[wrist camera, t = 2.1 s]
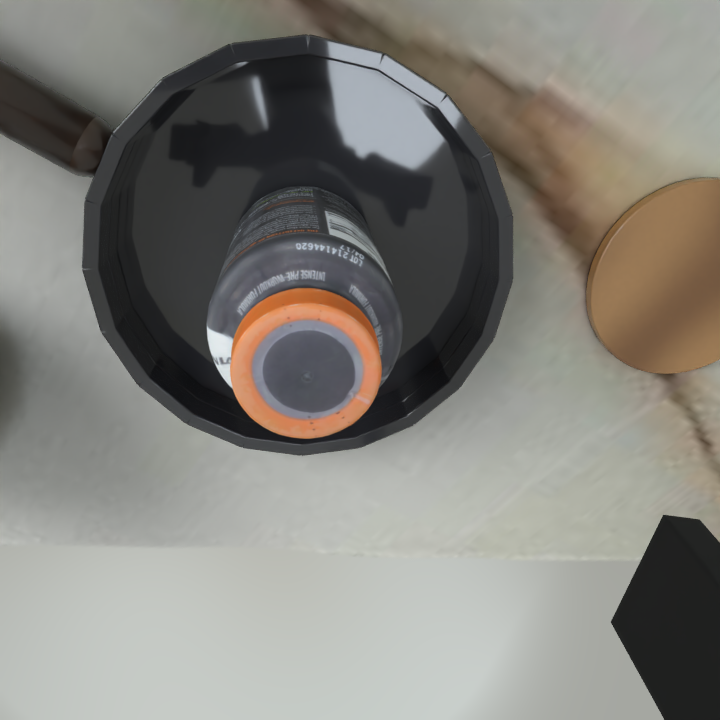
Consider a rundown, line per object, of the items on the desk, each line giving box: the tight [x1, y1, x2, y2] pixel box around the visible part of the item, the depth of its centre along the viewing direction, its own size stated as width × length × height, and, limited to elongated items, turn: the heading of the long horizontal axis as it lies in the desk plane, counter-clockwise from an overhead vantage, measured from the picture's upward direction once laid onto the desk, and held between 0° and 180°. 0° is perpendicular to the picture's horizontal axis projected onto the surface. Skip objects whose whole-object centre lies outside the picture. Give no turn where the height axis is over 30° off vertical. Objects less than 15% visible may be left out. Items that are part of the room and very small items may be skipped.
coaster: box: [586, 178, 720, 374], centre depth 29 cm, size 9×9×1 cm
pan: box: [82, 35, 513, 456], centre depth 26 cm, size 16×16×3 cm
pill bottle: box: [207, 186, 403, 439], centre depth 22 cm, size 6×6×11 cm
